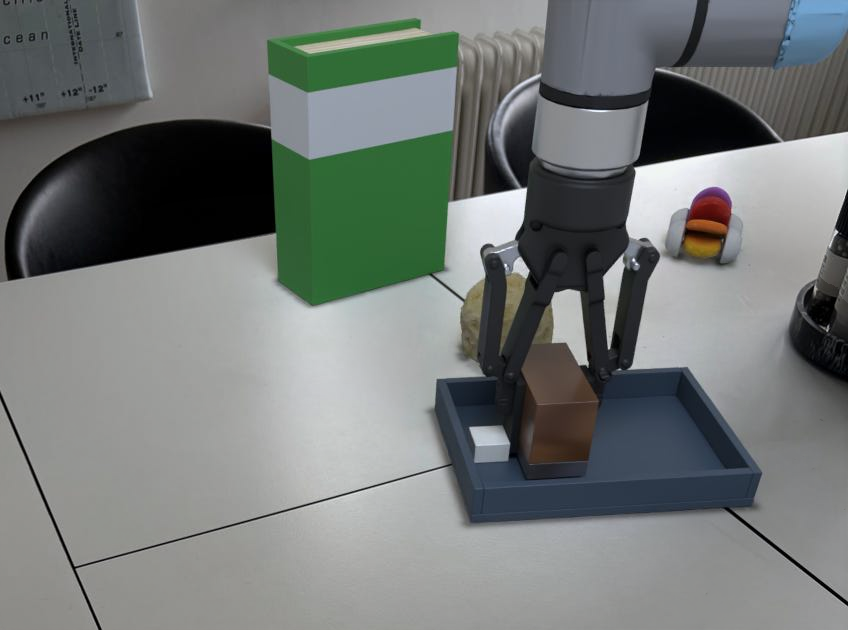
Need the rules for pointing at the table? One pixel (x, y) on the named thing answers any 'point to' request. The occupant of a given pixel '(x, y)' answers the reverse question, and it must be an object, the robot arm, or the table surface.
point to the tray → (607, 452)
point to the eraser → (555, 414)
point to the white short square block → (488, 444)
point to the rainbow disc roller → (706, 227)
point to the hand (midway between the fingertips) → (542, 442)
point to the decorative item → (515, 291)
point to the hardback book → (361, 155)
